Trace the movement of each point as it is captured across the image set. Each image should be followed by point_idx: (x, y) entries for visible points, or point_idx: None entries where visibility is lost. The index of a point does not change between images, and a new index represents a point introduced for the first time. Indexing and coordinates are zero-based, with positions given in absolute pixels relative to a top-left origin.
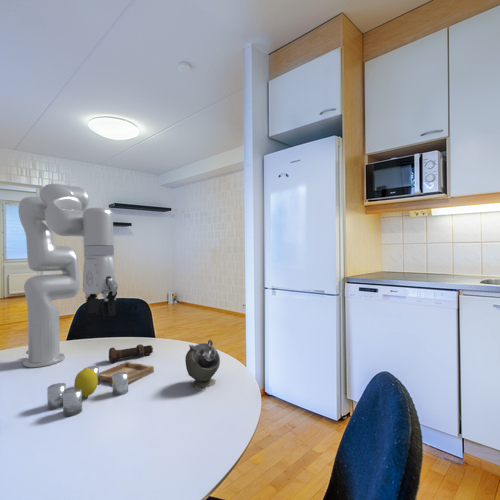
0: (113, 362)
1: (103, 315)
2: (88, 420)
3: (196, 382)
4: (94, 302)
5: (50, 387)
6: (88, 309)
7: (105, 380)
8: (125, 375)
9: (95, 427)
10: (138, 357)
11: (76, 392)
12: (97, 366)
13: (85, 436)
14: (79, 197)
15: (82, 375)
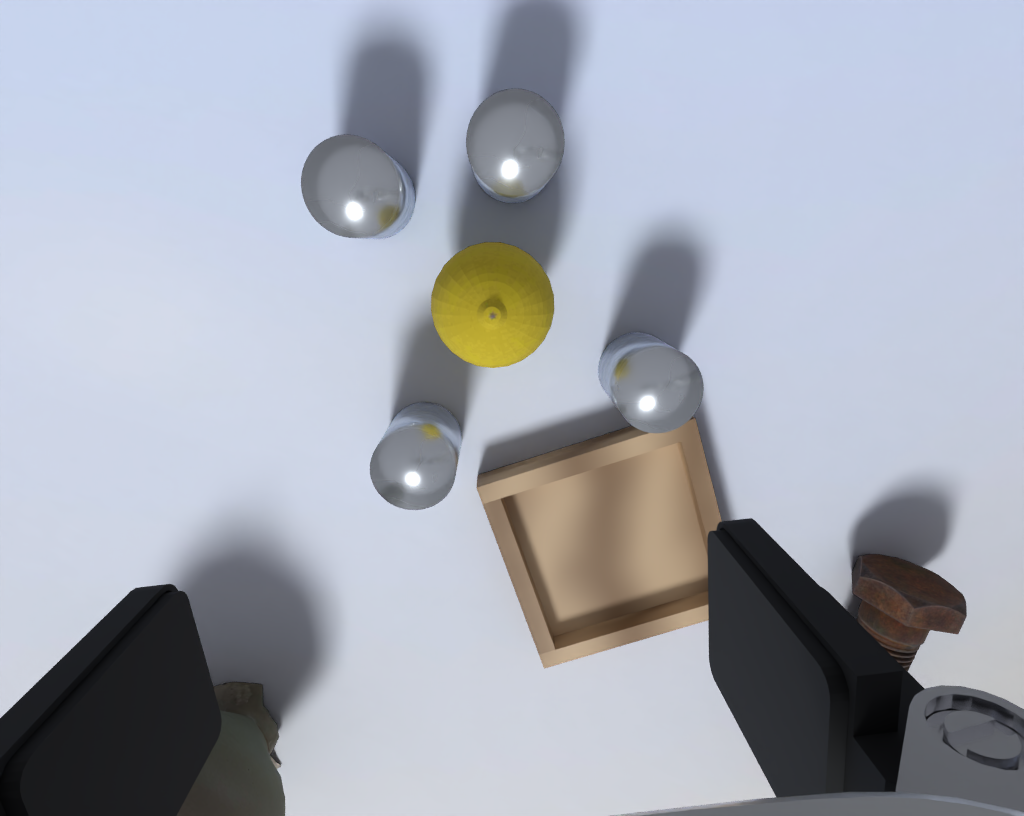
0: (856, 566)
1: (156, 587)
2: (237, 225)
3: (226, 705)
4: (783, 746)
5: (525, 108)
6: (730, 564)
7: (612, 436)
8: (374, 484)
9: (149, 225)
10: None
11: (325, 202)
12: (659, 429)
13: (98, 167)
14: None
15: (456, 279)
